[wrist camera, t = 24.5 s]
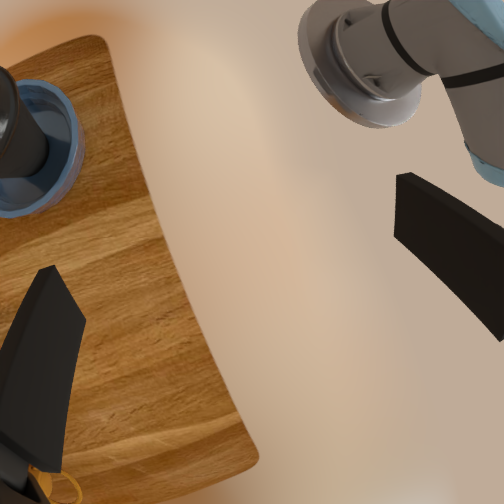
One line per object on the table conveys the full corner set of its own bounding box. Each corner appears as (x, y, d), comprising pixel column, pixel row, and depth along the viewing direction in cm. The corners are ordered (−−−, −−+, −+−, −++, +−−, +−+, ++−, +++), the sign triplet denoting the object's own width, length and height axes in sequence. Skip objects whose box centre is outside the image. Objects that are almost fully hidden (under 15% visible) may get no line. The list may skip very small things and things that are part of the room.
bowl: (64, 76, 24) (56, 56, 20) (104, 178, 28) (98, 173, 23) (-30, 135, 21) (-51, 125, 16) (5, 237, 25) (-14, 243, 20)
